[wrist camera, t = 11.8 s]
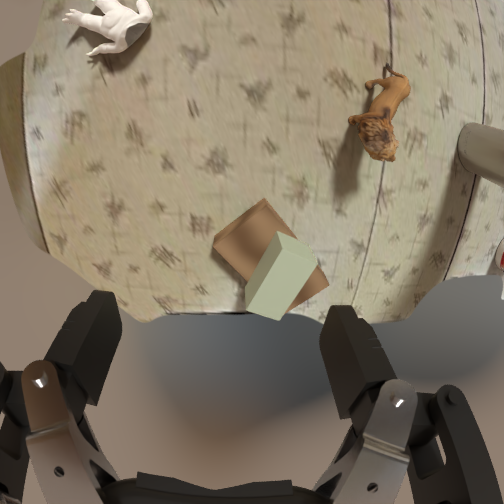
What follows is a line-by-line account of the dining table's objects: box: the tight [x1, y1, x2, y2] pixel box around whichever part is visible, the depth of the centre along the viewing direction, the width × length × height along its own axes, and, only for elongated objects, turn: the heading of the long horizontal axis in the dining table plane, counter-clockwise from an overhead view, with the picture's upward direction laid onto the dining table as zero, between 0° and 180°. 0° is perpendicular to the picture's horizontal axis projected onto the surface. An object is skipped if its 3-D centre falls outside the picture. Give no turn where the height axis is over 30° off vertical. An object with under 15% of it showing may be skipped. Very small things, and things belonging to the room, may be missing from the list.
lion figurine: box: [349, 63, 411, 162], centre depth 27 cm, size 15×5×9 cm, turn 163°
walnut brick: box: [213, 198, 329, 314], centre depth 41 cm, size 9×16×4 cm, turn 38°
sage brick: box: [245, 231, 318, 320], centre depth 37 cm, size 5×10×5 cm, turn 155°
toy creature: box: [62, 0, 153, 56], centre depth 21 cm, size 12×6×12 cm
